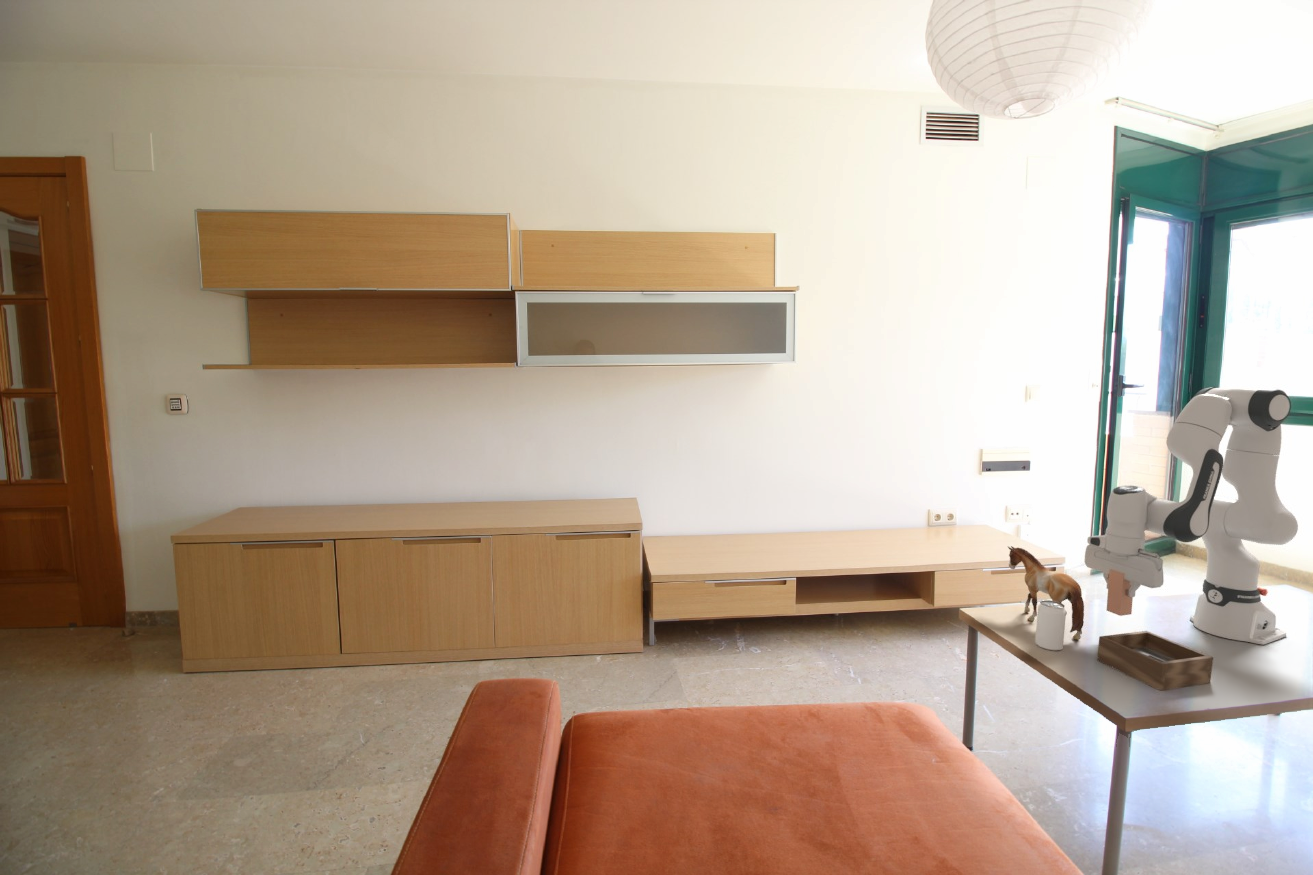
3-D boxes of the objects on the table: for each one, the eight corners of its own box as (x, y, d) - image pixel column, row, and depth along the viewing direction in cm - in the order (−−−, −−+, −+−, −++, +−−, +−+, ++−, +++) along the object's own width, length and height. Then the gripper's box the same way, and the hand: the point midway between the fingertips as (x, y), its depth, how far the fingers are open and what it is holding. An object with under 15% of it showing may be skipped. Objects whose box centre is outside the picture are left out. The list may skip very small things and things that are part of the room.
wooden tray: (1144, 654, 168) (1146, 630, 167) (1210, 682, 153) (1213, 657, 152) (1097, 660, 164) (1099, 636, 163) (1160, 690, 149) (1163, 664, 148)
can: (1067, 652, 168) (1070, 609, 167) (1040, 649, 170) (1043, 607, 169) (1056, 642, 175) (1060, 600, 174) (1031, 640, 176) (1034, 598, 175)
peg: (1117, 608, 179) (1120, 567, 177) (1131, 614, 175) (1134, 572, 174) (1106, 610, 178) (1109, 569, 176) (1120, 615, 174) (1123, 573, 172)
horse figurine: (1001, 607, 200) (1006, 544, 198) (1024, 607, 201) (1029, 544, 199) (1073, 650, 170) (1080, 576, 167) (1100, 650, 170) (1107, 576, 168)
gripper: (1172, 554, 165) (1167, 605, 166) (1099, 534, 185) (1095, 580, 186) (1153, 556, 163) (1149, 607, 165) (1082, 536, 183) (1078, 582, 184)
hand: (1120, 592), depth 176 cm, fingers closed on peg, 4 cm apart
